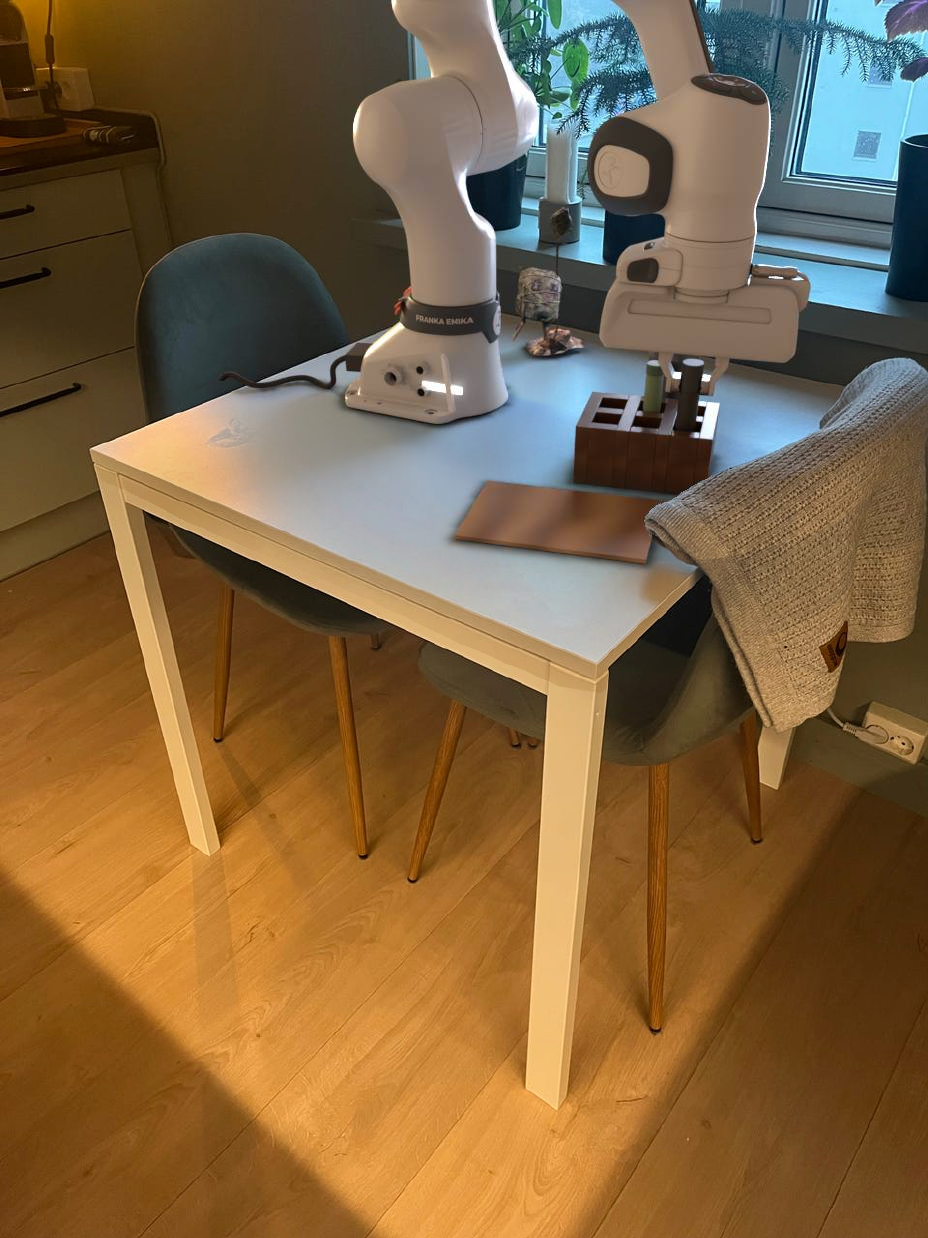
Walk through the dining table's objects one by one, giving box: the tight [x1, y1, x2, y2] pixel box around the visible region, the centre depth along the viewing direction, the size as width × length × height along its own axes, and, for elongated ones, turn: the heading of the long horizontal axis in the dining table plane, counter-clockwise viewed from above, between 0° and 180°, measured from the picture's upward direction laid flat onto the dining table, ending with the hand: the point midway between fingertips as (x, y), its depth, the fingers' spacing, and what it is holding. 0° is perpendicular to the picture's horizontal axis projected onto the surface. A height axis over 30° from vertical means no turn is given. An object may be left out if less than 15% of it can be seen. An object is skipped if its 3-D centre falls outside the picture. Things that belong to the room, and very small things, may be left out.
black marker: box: [675, 359, 705, 432], centre depth 106 cm, size 2×2×13 cm
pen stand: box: [572, 391, 721, 495], centre depth 111 cm, size 15×10×7 cm
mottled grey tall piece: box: [511, 207, 585, 357], centre depth 142 cm, size 8×11×20 cm
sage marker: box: [643, 360, 664, 413], centre depth 111 cm, size 2×2×12 cm
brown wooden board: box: [454, 480, 663, 565], centre depth 103 cm, size 20×13×1 cm, turn 73°
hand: (689, 392), depth 104 cm, fingers closed on black marker, 2 cm apart
